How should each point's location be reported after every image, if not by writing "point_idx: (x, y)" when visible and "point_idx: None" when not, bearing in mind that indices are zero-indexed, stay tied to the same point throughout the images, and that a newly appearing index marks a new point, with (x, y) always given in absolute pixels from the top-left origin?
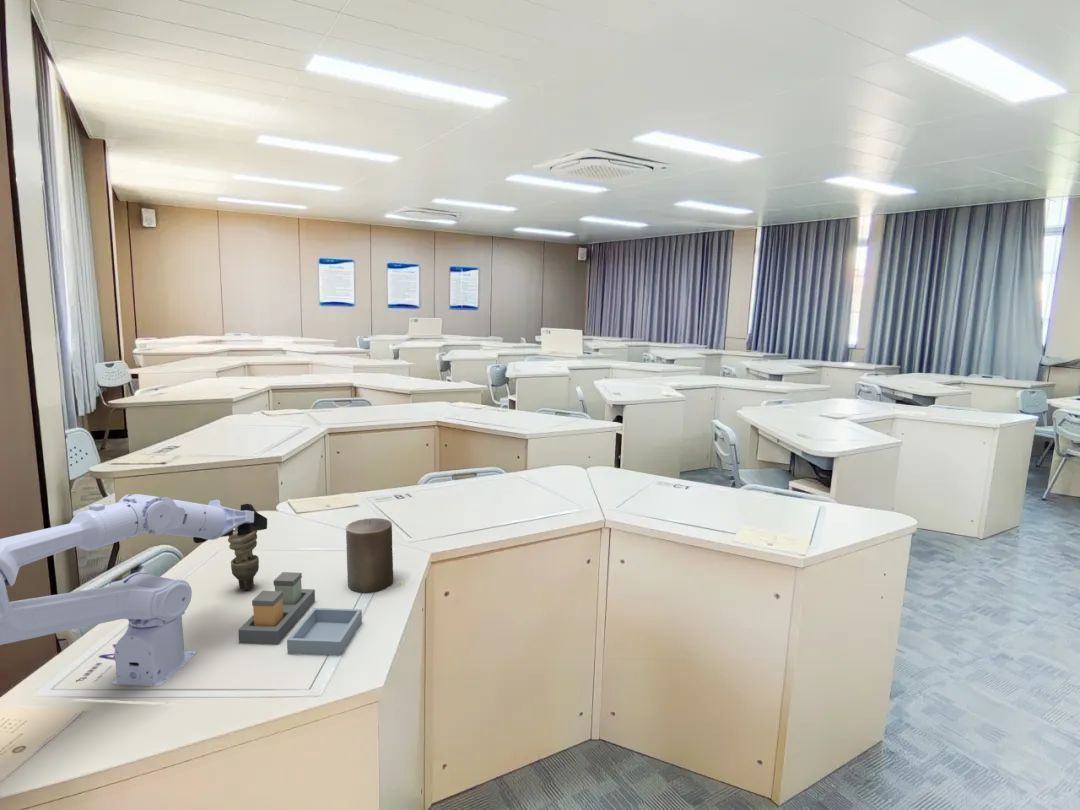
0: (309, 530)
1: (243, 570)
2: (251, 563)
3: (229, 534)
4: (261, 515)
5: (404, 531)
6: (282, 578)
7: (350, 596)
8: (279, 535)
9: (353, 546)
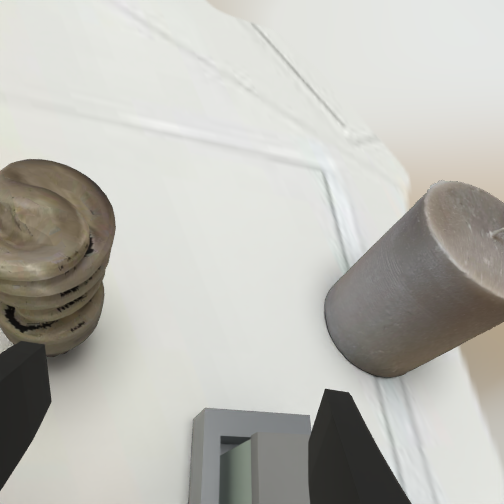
0: (119, 40)
1: (59, 347)
2: (89, 323)
3: (33, 428)
4: (381, 455)
5: (320, 98)
6: (284, 497)
7: (355, 383)
8: (49, 42)
9: (451, 314)
